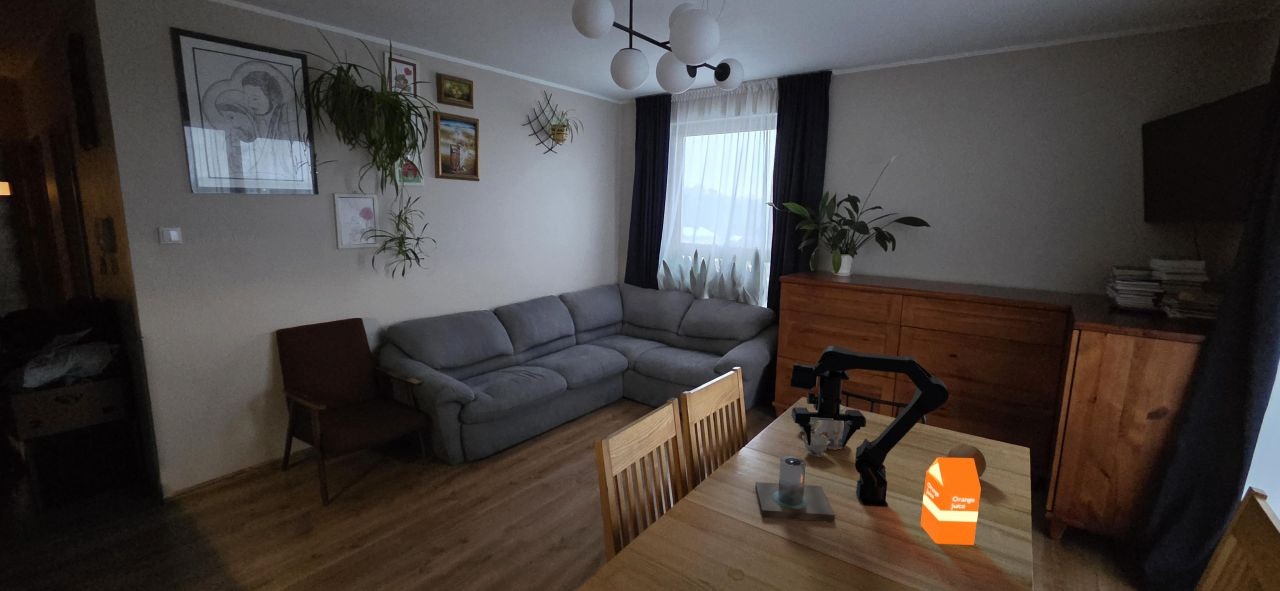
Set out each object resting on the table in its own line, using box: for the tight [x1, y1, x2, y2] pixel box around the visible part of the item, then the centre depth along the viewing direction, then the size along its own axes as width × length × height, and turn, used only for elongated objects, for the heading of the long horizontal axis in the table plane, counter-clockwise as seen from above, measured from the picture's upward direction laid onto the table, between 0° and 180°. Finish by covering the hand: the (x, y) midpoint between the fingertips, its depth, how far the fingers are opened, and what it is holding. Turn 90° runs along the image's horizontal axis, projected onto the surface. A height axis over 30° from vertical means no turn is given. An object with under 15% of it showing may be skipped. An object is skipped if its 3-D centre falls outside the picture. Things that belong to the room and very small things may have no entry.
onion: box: [946, 443, 987, 479], centre depth 152 cm, size 10×10×10 cm
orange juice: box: [920, 456, 982, 546], centre depth 124 cm, size 8×9×20 cm
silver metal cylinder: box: [778, 455, 806, 506], centre depth 136 cm, size 6×6×11 cm
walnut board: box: [754, 481, 836, 523], centre depth 138 cm, size 18×14×2 cm
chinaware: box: [797, 404, 845, 458], centre depth 174 cm, size 28×17×17 cm, turn 176°
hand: (825, 445), depth 144 cm, fingers open, 9 cm apart
